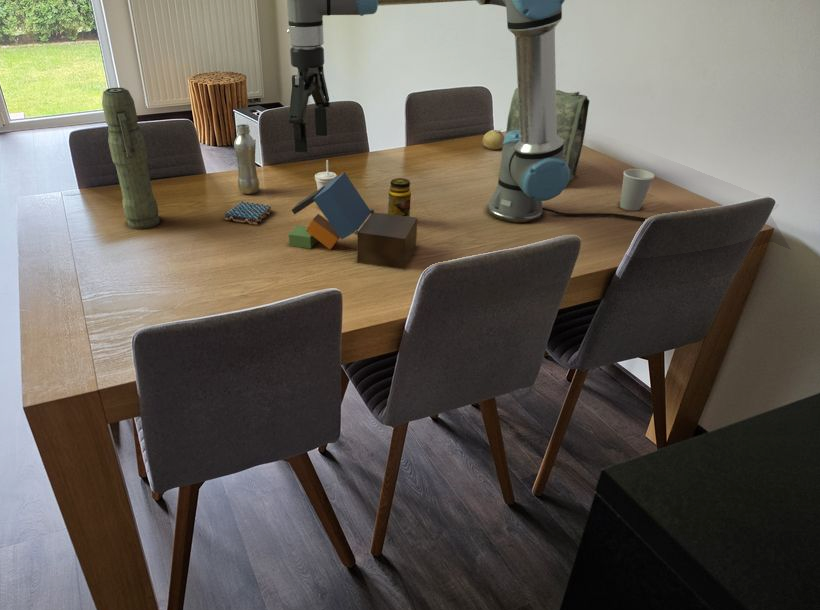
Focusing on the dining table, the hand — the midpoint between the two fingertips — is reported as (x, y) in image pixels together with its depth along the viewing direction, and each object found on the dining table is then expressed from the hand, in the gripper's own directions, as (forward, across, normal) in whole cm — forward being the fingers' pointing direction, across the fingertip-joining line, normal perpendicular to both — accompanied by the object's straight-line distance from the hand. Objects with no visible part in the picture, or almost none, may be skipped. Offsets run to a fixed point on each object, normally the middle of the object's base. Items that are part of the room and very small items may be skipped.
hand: (311, 143), depth 148 cm
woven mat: (+25, -8, -24) cm, 36 cm away
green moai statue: (+25, +5, -50) cm, 56 cm away
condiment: (+26, -17, +17) cm, 35 cm away
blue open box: (+12, +3, +11) cm, 17 cm away
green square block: (+23, +3, -5) cm, 24 cm away
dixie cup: (+26, -49, +80) cm, 98 cm away
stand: (+25, +3, +20) cm, 33 cm away
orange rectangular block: (+19, +3, 0) cm, 19 cm away
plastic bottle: (+25, -25, -32) cm, 48 cm away
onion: (+26, -93, +35) cm, 103 cm away
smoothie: (+25, -21, -5) cm, 33 cm away
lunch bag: (+26, -68, +53) cm, 90 cm away
